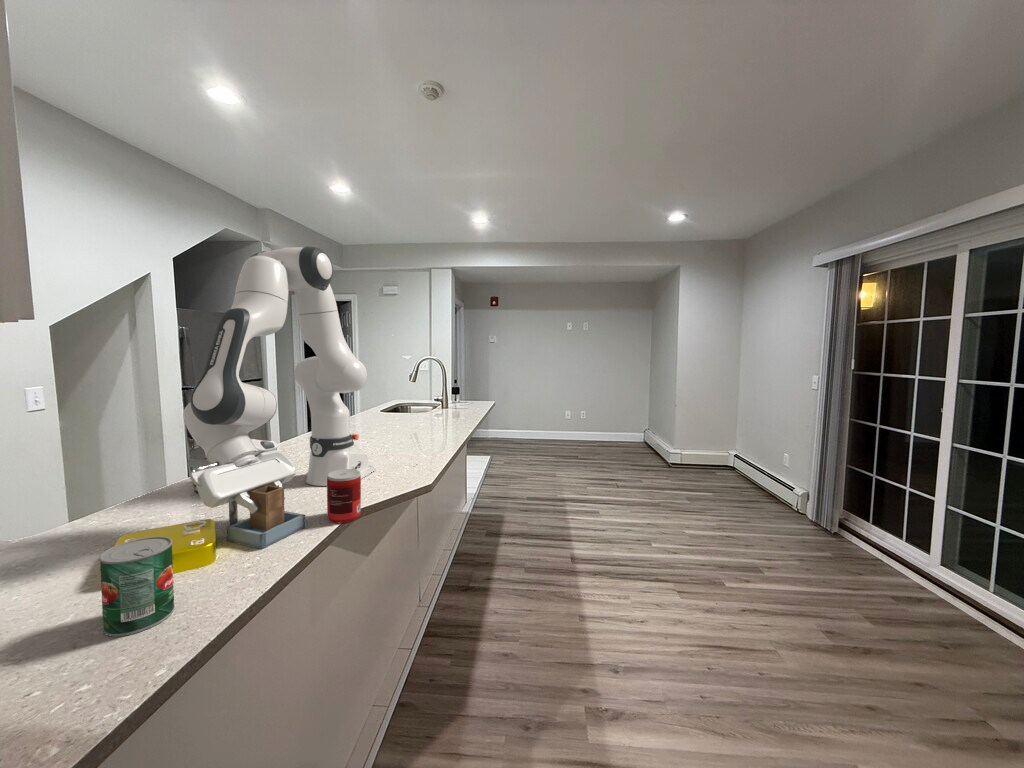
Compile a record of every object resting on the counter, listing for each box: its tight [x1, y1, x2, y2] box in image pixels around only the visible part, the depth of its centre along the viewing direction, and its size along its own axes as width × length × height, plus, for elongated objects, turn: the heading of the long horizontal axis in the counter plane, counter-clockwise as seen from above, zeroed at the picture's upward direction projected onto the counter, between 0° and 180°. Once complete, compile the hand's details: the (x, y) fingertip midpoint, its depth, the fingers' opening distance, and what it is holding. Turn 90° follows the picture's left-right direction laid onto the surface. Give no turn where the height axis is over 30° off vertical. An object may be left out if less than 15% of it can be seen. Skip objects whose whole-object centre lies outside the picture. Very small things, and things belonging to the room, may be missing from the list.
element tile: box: [114, 518, 217, 575], centre depth 76 cm, size 15×15×5 cm
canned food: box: [326, 469, 362, 524], centre depth 98 cm, size 8×8×11 cm
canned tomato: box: [99, 536, 175, 637], centre depth 59 cm, size 8×8×11 cm
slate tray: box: [226, 510, 307, 550], centre depth 88 cm, size 11×10×3 cm
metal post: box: [228, 500, 239, 526], centre depth 91 cm, size 2×2×6 cm
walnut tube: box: [249, 485, 285, 531], centre depth 87 cm, size 5×5×8 cm
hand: (269, 505), depth 87 cm, fingers closed on walnut tube, 4 cm apart
